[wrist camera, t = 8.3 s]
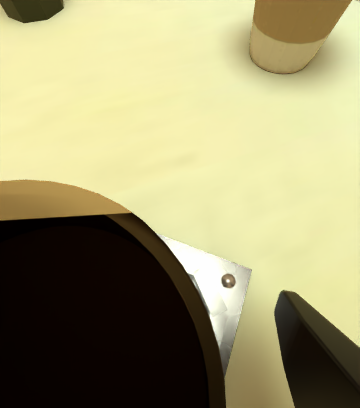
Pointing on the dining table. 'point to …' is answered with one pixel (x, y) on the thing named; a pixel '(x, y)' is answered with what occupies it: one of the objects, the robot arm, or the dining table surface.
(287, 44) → the coffee cup
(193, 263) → the cup bracket
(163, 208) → the dining table surface
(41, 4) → the wine bottle
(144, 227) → the tall ribbed vase
